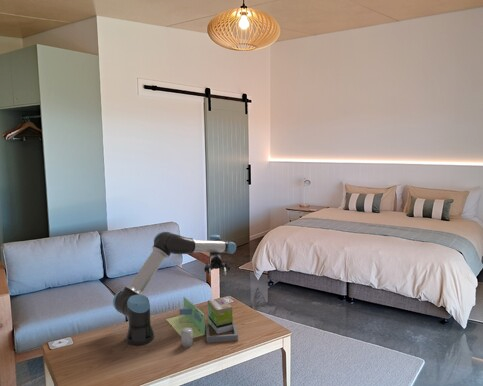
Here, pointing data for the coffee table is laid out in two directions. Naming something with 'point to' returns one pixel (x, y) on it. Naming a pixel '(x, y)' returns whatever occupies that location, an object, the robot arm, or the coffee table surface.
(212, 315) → the tea box
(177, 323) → the display stand
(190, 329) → the grey rounded cylinder
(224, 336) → the frame
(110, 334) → the coffee table surface
